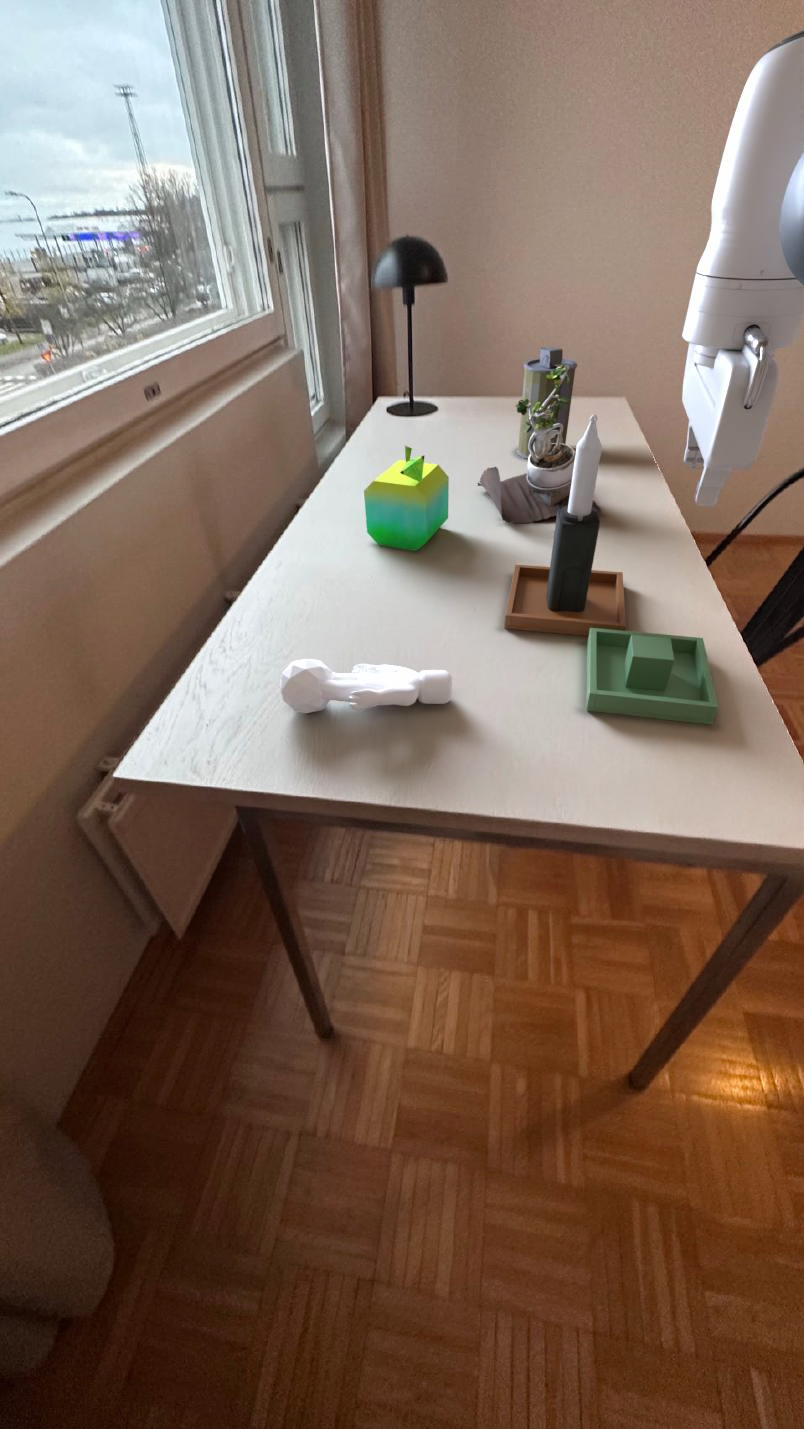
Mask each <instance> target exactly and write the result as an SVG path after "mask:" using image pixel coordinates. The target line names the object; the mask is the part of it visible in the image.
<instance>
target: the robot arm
mask: <svg viewBox="0 0 804 1429" xmlns="http://www.w3.org/2000/svg"><path fill="white" fill-rule="evenodd" d="M738 100H739V101H738V103H737V106H736V108H735V112H734V116H733V119H732V122H731V124H730V128H729V132H728V136H727V138H726V142H725V145H724V146H725V147H724V149H723V153H722V156H721V160H720V165H719V169H718V173H717V177H716V181H715V186H714V190H713V194H712V199H711V208H710V209H711V222H710V223H711V225H710V231H709V236H708V240H707V243H706V246H705V249H704V250H703V252H702V254H701V257H700V258H699V262H698V264H697V267H696V271H695V276H694V279H693V280H694V281H693V284H692V288H691V292H690V297H689V301H688V307H687V311H686V316H685V321H684V325H683V328H682V334H681V337H682V340H684V341H685V342H687V343H688V348H687V354H686V362H685V368H684V374H683V382H682V395H681V397H682V398H681V399H682V400H681V401H682V405H683V408H684V410H685V412H686V415H687V418H688V427H687V438H686V448H685V451H684V455H683V458H682V459H683V463H684V466H685V468H687V469H697V470H698V469H702V468H703V470H702V474H701V477H700V479H699V480H697V484H696V488H695V491H694V500H695V503H696V505H697V506H699V507H707V508H708V507H709V508H711V507H714V506H716V505H717V504H718V502H719V499H720V496H721V492H722V488H723V487H724V486H725V484H726V482H727V481H728V479H729V477H730V476H731V474H732V473H733V471H746V470H747V471H748V470H749V469H750V468H752V466H753V465H754V463H755V461H756V460H757V458H758V456H759V454H760V450H761V447H762V444H763V440H764V436H765V433H766V430H767V426H768V423H769V418H770V415H771V412H772V408H773V404H774V401H775V396H776V392H777V387H778V382H779V373H780V372H779V369H780V368H779V365H778V363H777V362H776V360H775V356H776V353H777V350H778V349H783V348H786V347H790V346H792V345H794V344H795V343H797V341H798V339H799V336H800V333H801V329H802V326H803V323H804V29H803V30H801V31H798V32H796V33H794V34H791V35H790V36H787V37H786V38H784V39H782V40H781V41H780V42H778V43H776V44H775V45H774V46H772V47H771V48H770V49H768V51H766V52H765V54H763V56H762V57H761V58H760V59H759V60H758V61H757V62H756V63H755V65H754V67H753V69H751V72H750V74H749V75H748V78H747V80H746V83H745V85H744V87H743V90H742V92H741V95H740V98H739V99H738Z"/></svg>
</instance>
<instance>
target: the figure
mask: <svg viewBox="0 0 804 1429" xmlns="http://www.w3.org/2000/svg"><path fill="white" fill-rule="evenodd" d="M352 669H353V670H351V671H350V672H349V673H339V672H334V671H332V670H331V669H330V668H329V667H328V666H327V665H326V664H325V663H324V662H323V661H321V660H320V659H319V660H318V659H312V658H303V659H298V660H293V661H292V662H290V663H289V665H288V666H287V667H286V668H285V669H284V670H283V672H282V673H281V675H280V680H279V684H278V687H279V690H280V694H281V698H282V701H283V702H284V703H285V704H286V705H288V707H290V708H291V709H292V710H293V711H294V712H296V713H297V712H298V713H302V714H309V713H314V712H320V711H323V710H324V709H325V707H326V706H327V705H328V704H329V703H330V701H338V702H346V703H349V707H351V708H352V709H354V710H360V711H364V710H366V709H370V708H374V707H376V706H392V705H393V706H402V707H409V706H411V705H413V704H415V703H416V701H417V700H419V702H420V703H421V704H427V705H430V704H431V705H434V704H436V705H442V704H447V703H449V701H450V700H451V698H452V693H453V681H452V680H453V679H452V676H451V674H450V672H449V671H448V670H444V669H424V670H421V671H419V672H417V671H415V670H414V669H411V668H408V667H405V666H399V665H391V664H379V665H375V664H369V663H359V664H356V665H354V666H353V667H352Z"/></svg>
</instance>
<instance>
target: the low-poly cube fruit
mask: <svg viewBox="0 0 804 1429" xmlns="http://www.w3.org/2000/svg"><path fill="white" fill-rule="evenodd" d="M412 450H413V448H412V447H409V446H407V445H404V453H405V458H404V459H398V460H397V461H396V462H394V463H393V464H392V465H391V466H390V467H388V468H387V469H386V470H384V472H382V473H381V474H380V475H378V477H376V478H375V479H374V480H372V481H371V483H370V484H369V485H368V486H367V487H366V488H365V489H364V490H363V496H364V508H365V509H364V510H365V521H366V522H365V523H366V533H367V534H368V536H370V537H371V538H372V540H373V541H374V542H375V543H376V544H377V545H379V546H385V547H392V548H397V549H403V550H409V551H413V552H414V551H415V552H417V551H418V550H419V549H420V548H422V547H423V546H424V545H425V544H426V543H427V542H428V541H429V540H430V539H431V538H432V537H433V536H434V535H435V534H436V533H437V532H438V530H439V529H440V528H441V527H442V526H443V525H444V523H446V521H447V520H448V519H449V489H450V488H449V487H450V484H449V483H450V482H449V481H450V478H449V475H448V474H447V473H446V471H445V470H443V468H442V467H441V466H440V464H437V463H428V462H425V456H426V455H421V456H418V457H414V458H411V456H412Z"/></svg>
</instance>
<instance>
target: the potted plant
mask: <svg viewBox="0 0 804 1429" xmlns="http://www.w3.org/2000/svg"><path fill="white" fill-rule="evenodd" d="M556 369H557V370H556V372H555V373H554V372H553V371H551V373H550V375H551V376H550V375H547V379H548V380H553V381H554V384H555V389H554V391H553V392H552V393H551V395H550V396H549V397H548V399H547V400H545V402H544V403H543V405H542V406H541V407H540V405H541V403H540V402H537V403H536V404H535V406H534V407H533V408H532V404H529V406H528V407H527V406H526V405H527V404H528V403H529V400H528V399H525V401H523V400H522V399H520V400H519V401H518V402H517V403H516V404H515V405H514V407H515V408H516V412H517V414H520V415H521V414H522V415H525V414H526V413H527V408H528V409H529V418H527V419H526V421H525V422H526V424H527V425H528V426H527V427H526V428H525V430H524V431H525V432H526V433H527V432H529V431H531V432H532V434H533V435H532V436H531V438H530V440H529V444H528V450H529V452H530V455H529V458H528V459H527V466H526V472H527V473H523V474H519V475H516V476H512V477H509V478H506V479H504V480H501V477H500V476H501V475H500V471H499V468H498V467H497V466H492V467H487V468H486V470H484V471H483V472H482V474H481V476H480V479H479V482H477V487H483V488H484V490H485V491H486V493H487V494H488V495H489V497H490V498H491V500H492V501H493V503H494V505H495V507H496V509H497V511H498V512H499V514H500V516H501V519H502V521H503V522H505V523H507V524H509V523H512V524H516V525H518V524H527V523H528V524H529V523H533V522H538V521H541V520H547V519H549V518H550V517H552V518H553V517H557V512H558V510H560V509H562V508H563V507H564V506H567V505H568V504H569V497H570V490H571V483H572V476H573V469H574V462H575V455H576V451H575V449H574V448H573V447H572V446H571V445H568V444H561V443H562V442H563V437H562V432H563V425H562V424H560V423H557V424H554V425H553V422H551V420H552V421H554V422H555V423H556V418H555V416H554V415H553V414H554V412H555V411H556V410H557V409H558V410H560V411H561V407H562V406H563V405H564V403H565V404H566V403H568V402H569V399H568V398H566V397H563V398H561V399H559V398H560V397H559V395H556V396H554V393H555V392H556V390H559V387H560V385H561V383H562V382H563V380H564V378H566V384H567V383H569V376H568V375H567V371H568V370H569V366H567V367H565V365H564V364H563V365H562V366H561V367H558V368H556ZM558 369H559V370H558ZM562 373H564V374H562ZM559 375H560V376H559ZM556 398H557V399H558V400H559V402H558V404H556V401H555V402H554V404H553V405H550V406H549V407H548V410H546V411H545V410H543V408H545V407H546V404H547V403H548V402H549V400H550V399H556ZM562 403H563V404H562ZM535 407H536V410H535ZM539 407H540V409H539ZM537 409H538V410H537ZM533 411H534V412H535V414H534V415H533ZM541 412H543V413H541ZM551 412H552V414H551ZM540 413H541V414H540ZM548 413H550V414H548ZM544 414H545V416H546V417H542V416H543V415H544ZM549 415H550V416H549ZM550 417H551V419H550V420H548V419H549V418H550ZM536 419H537V421H536ZM542 426H544V427H542ZM545 427H546V428H545ZM552 429H560V432H559V431H558V430H552ZM550 430H552V431H550ZM557 435H558V438H557V443H551V440H550V439H554V438H555V437H557ZM533 443H534V450H533V449H532V446H533ZM592 507H593V508H595V509H596V510H597V511H602V509H601V507H600V506H599V505H598V504H597V502H596V501H595V500H594V499H593V503H592Z"/></svg>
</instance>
